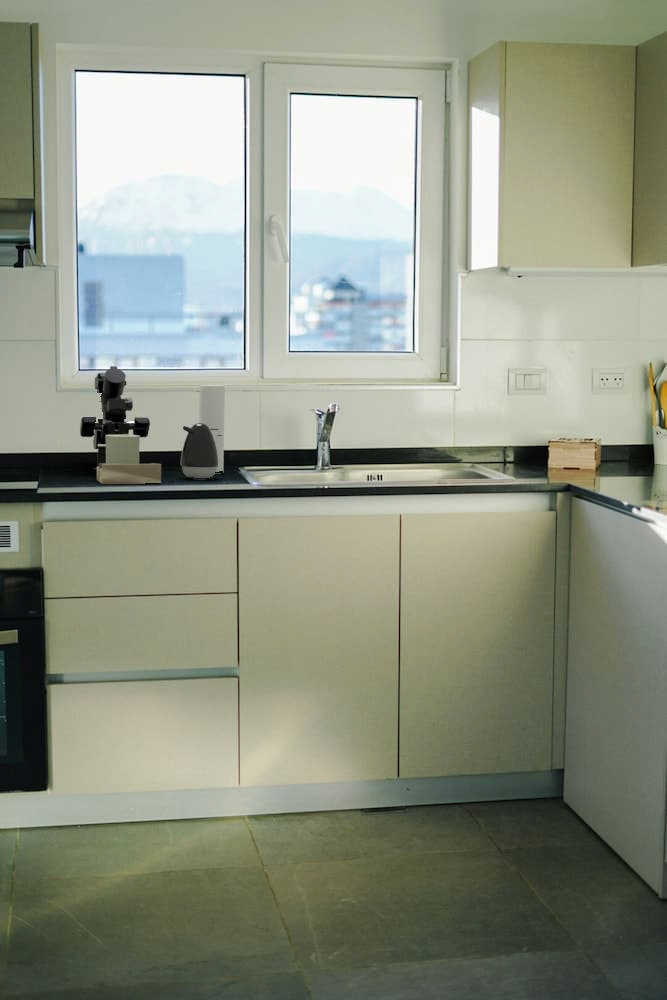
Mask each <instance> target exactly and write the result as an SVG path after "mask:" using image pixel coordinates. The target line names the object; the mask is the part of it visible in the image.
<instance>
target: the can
mask: <svg viewBox="0 0 667 1000" xmlns="http://www.w3.org/2000/svg"><path fill="white" fill-rule="evenodd" d="M140 438H141V437H140V436H138V435H133V434H124V435H106V444H105V446H106V464H140V443H141V442H140Z"/></svg>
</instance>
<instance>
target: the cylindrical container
mask: <svg viewBox="0 0 667 1000" xmlns="http://www.w3.org/2000/svg"><path fill="white" fill-rule="evenodd" d="M225 389H226V388H225V385H215V384H213V385H211V384H206V385H205V384H203V385H199V409H198V411H199V412H198V413H199V417H198V421H199V422H198V423H203V424H205V425H207V426H208V427H209V429H210V431H211V433H212V435H213V438H214V441H215V444H216V448H217V454H218V466H217V470H216V472H219V471H223V472H224V460H225V459H224V452H225V448H224V446H225V444H224V443H225V441H224V440H225V435H224V434H225V398H226V397H225V393H226V391H225Z"/></svg>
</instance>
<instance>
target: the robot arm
mask: <svg viewBox="0 0 667 1000" xmlns="http://www.w3.org/2000/svg"><path fill="white" fill-rule="evenodd" d="M126 376H127V375H126V373H125V372H124V371H123V370H121V369H119V368H118V366H117V365H116V366H115V365H114V366H113V365H110V366H109V369H107V370H106V371H105V372H98V373H97V375H96V376H94V388H95V389H97V393H102V394H101V396H100V397H101V401H100V403H101V409H102V412H103V419H98V423H95V422H96V417H83V416H82V418H81V419H80V426H79V427H80V428H79V433H80V437H82V438H92V437H93V439H92V440H93V441H92V442H93V444H92V445H93V449H95V450H97V467H99V463H105V464H106V435H124V434H128V435H130V430H131V431H132V435H138V436H140V438H147V437H148V435H149V430H150V426H151V422H150V418H149V417H141V416H139V417H138V416H137V417H134V419H133V421H125V420H126V419H127V412H131V411H132V410H133V398H132V397H125V398H122V395H123V394H124V389H125V387H126V386H127V380H126V378H127V377H126ZM97 467H94V468H93V471H97Z"/></svg>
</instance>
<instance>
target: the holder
mask: <svg viewBox="0 0 667 1000" xmlns="http://www.w3.org/2000/svg"><path fill="white" fill-rule="evenodd" d="M96 468H97V470H96V481H98V482H99V483H100V484H102V485H131V484H132V485H140V484H141V485H142V484H143V485H145V483H161V484H162V464H161V463H157V462H151V463H139V464H105V463H99V467H98V466H96Z"/></svg>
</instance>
